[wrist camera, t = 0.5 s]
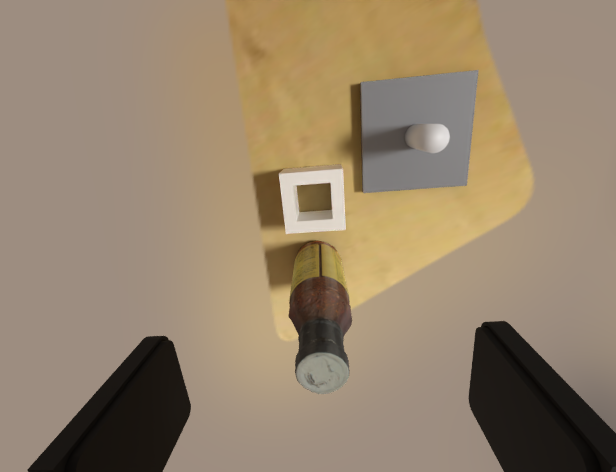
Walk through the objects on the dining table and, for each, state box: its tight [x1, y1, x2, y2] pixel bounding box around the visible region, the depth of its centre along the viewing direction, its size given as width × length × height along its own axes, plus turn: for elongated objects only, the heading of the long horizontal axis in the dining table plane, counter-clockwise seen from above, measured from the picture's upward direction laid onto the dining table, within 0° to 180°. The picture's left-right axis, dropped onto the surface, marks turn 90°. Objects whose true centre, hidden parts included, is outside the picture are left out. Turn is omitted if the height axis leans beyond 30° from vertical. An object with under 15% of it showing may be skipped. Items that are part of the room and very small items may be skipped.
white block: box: [279, 164, 346, 234], centre depth 35 cm, size 7×7×4 cm
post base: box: [360, 70, 478, 193], centre depth 31 cm, size 12×12×7 cm
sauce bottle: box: [289, 241, 352, 394], centre depth 31 cm, size 6×6×20 cm
